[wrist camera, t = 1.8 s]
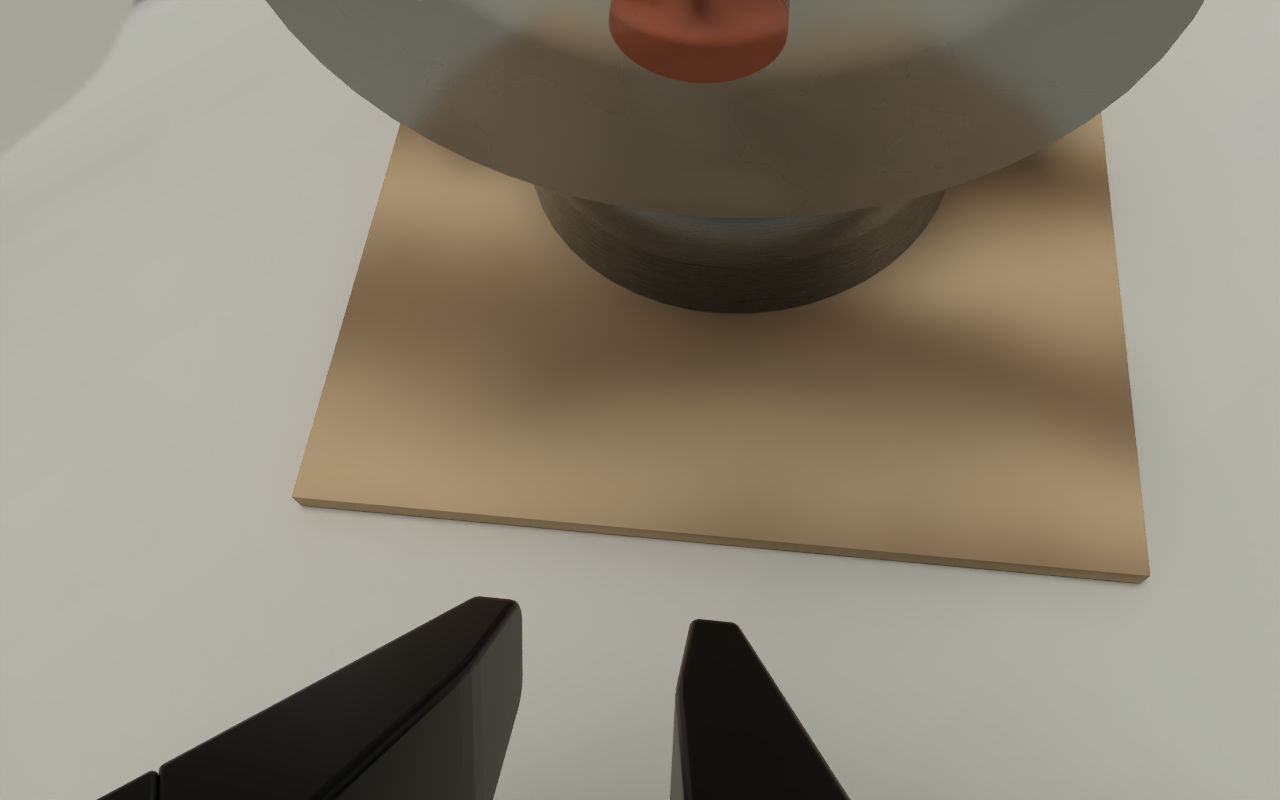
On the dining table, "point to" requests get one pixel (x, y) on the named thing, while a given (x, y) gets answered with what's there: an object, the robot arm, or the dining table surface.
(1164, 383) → the dining table surface
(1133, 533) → the board
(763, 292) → the cooker
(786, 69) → the lid
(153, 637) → the dining table surface
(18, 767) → the dining table surface
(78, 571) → the dining table surface
